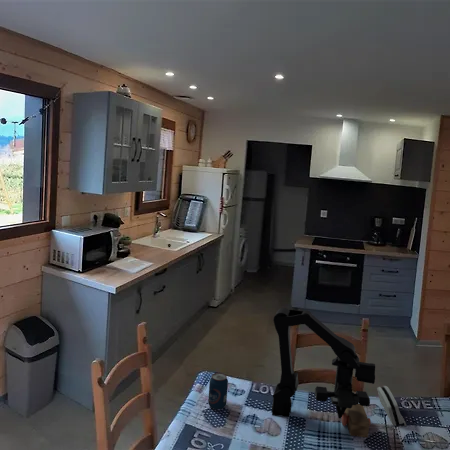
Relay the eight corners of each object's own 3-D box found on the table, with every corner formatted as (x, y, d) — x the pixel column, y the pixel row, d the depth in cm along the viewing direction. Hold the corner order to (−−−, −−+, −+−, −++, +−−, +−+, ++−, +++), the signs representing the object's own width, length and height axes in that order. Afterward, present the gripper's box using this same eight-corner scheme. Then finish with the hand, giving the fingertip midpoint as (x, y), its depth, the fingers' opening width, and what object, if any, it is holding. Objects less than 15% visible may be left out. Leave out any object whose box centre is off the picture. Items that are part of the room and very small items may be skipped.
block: (350, 435, 155) (352, 420, 154) (344, 416, 167) (345, 402, 166) (367, 437, 155) (369, 422, 154) (360, 418, 166) (362, 404, 166)
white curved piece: (406, 426, 163) (400, 402, 162) (393, 429, 163) (387, 404, 162) (392, 402, 180) (386, 379, 178) (380, 404, 180) (375, 382, 179)
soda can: (204, 406, 167) (206, 376, 165) (214, 398, 173) (216, 370, 171) (219, 413, 163) (222, 382, 161) (229, 405, 169) (231, 375, 167)
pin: (343, 428, 159) (344, 416, 158) (341, 420, 163) (342, 409, 163) (370, 431, 158) (371, 419, 158) (367, 423, 163) (369, 412, 162)
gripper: (320, 386, 151) (315, 428, 154) (376, 392, 150) (370, 434, 152) (316, 370, 162) (312, 410, 165) (368, 376, 161) (363, 416, 163)
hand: (339, 417), depth 161 cm, fingers closed
